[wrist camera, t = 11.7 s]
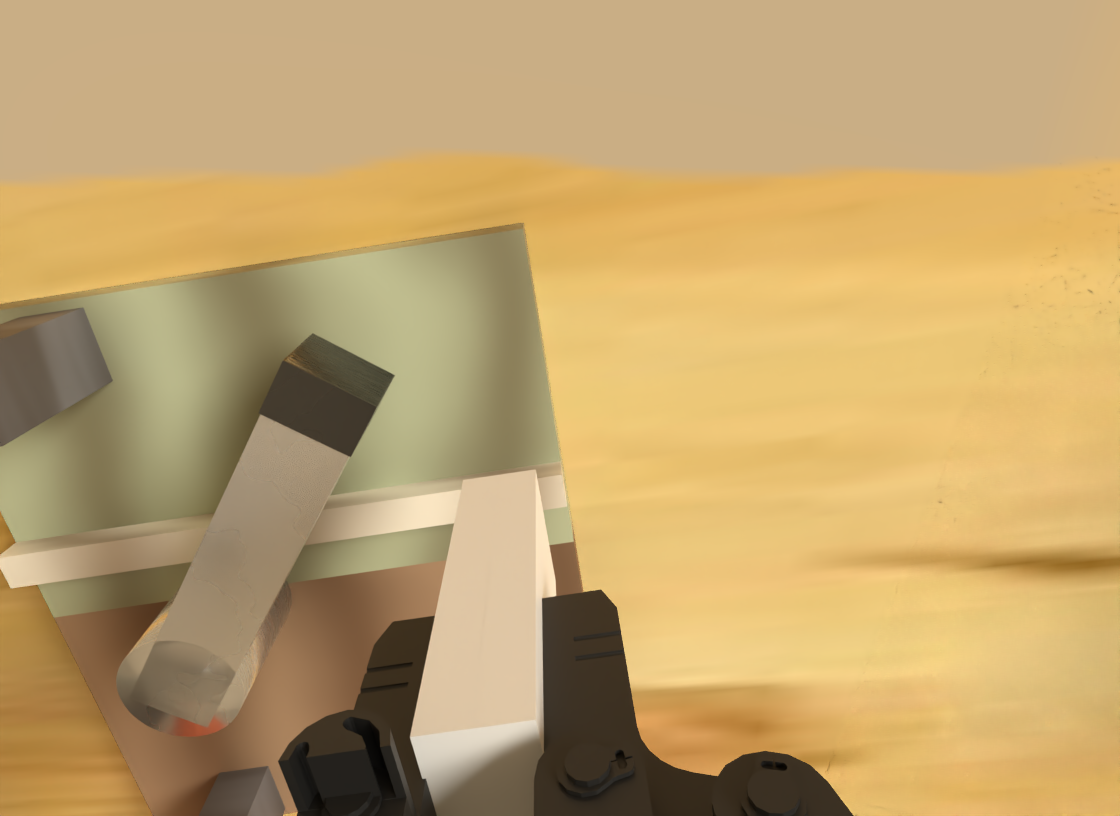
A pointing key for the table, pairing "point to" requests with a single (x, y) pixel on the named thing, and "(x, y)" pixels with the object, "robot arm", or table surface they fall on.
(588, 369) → the table surface
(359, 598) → the lever base plate
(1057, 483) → the table surface
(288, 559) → the lock bar
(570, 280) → the table surface
